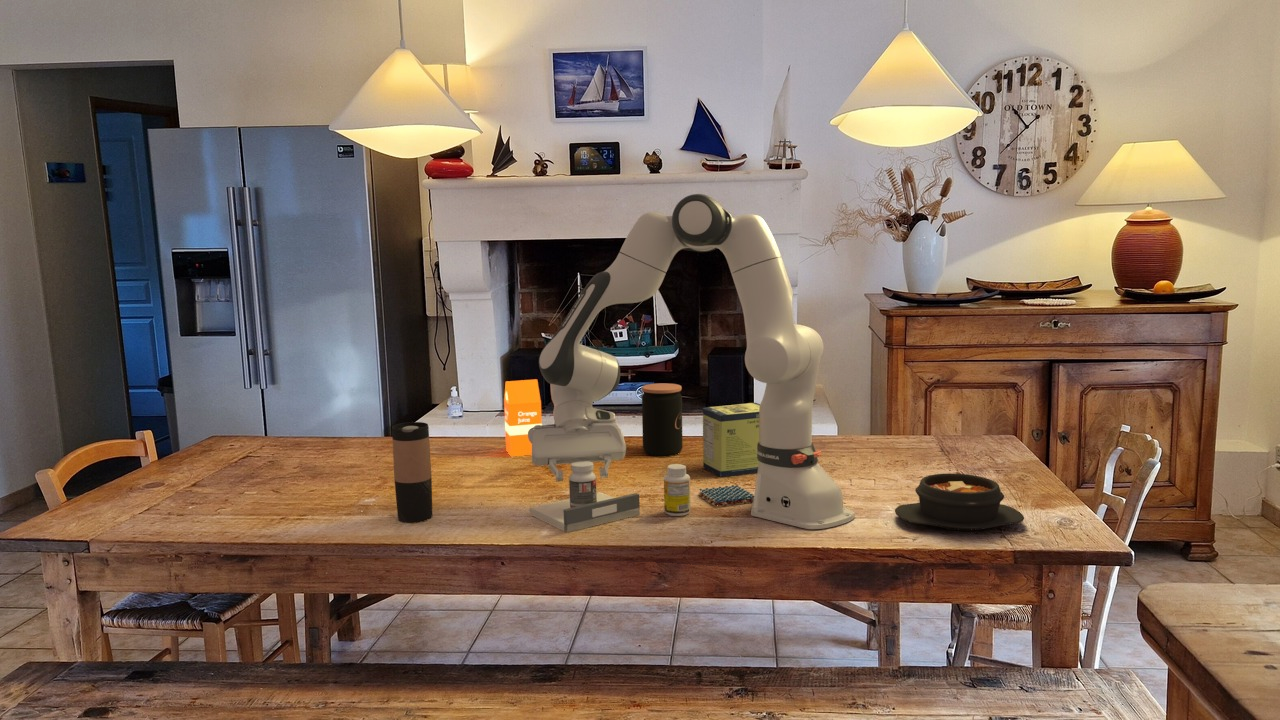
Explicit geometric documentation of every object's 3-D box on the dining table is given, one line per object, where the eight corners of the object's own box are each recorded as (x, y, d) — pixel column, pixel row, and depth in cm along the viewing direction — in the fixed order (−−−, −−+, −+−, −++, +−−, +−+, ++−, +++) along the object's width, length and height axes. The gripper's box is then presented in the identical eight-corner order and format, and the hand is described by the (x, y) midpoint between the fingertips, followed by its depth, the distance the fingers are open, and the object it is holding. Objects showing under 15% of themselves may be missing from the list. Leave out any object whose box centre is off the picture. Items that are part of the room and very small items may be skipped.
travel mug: (418, 510, 203) (413, 420, 200) (441, 516, 198) (436, 424, 196) (389, 518, 197) (383, 426, 194) (411, 525, 193) (406, 431, 190)
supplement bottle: (670, 507, 201) (669, 462, 200) (694, 510, 199) (693, 464, 198) (660, 515, 196) (659, 468, 195) (684, 518, 194) (684, 470, 193)
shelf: (640, 515, 197) (639, 494, 196) (567, 532, 186) (567, 511, 186) (600, 499, 209) (599, 479, 208) (530, 514, 198) (529, 494, 198)
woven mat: (715, 510, 201) (715, 501, 200) (696, 497, 211) (696, 488, 210) (759, 504, 204) (759, 496, 204) (738, 492, 214) (738, 483, 214)
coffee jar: (683, 457, 245) (682, 389, 242) (642, 457, 245) (641, 390, 243) (682, 447, 256) (681, 382, 253) (643, 447, 256) (642, 383, 253)
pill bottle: (600, 511, 194) (598, 465, 193) (573, 514, 192) (572, 468, 191) (592, 504, 200) (591, 459, 198) (567, 507, 198) (565, 461, 196)
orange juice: (505, 451, 255) (502, 379, 252) (537, 448, 258) (535, 377, 255) (510, 457, 248) (507, 383, 245) (543, 454, 250) (540, 381, 247)
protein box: (776, 470, 230) (777, 409, 228) (720, 478, 224) (720, 414, 222) (756, 461, 240) (756, 401, 237) (701, 468, 234) (701, 407, 232)
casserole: (907, 538, 180) (908, 496, 178) (885, 509, 198) (886, 470, 197) (1038, 537, 179) (1040, 495, 177) (1004, 508, 197) (1005, 469, 196)
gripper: (527, 418, 198) (532, 474, 190) (621, 412, 202) (631, 467, 194) (526, 433, 203) (531, 489, 195) (618, 428, 207) (627, 482, 199)
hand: (582, 478), depth 195 cm, fingers open, 8 cm apart
